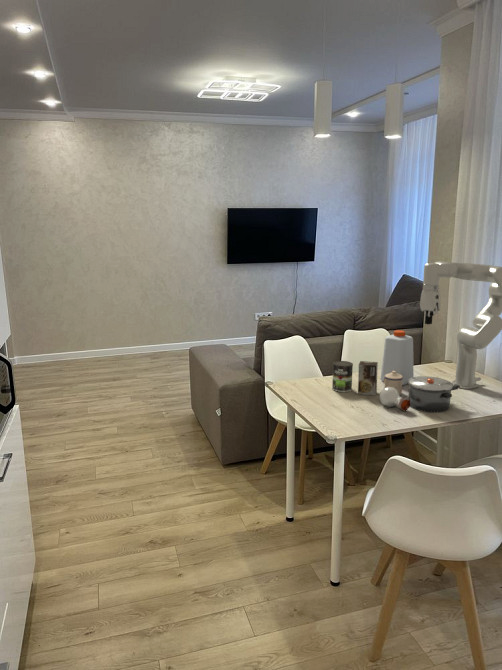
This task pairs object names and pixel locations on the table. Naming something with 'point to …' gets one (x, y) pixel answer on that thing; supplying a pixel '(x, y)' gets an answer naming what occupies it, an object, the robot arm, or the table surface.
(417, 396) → the pot
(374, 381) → the coffee box
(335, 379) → the coffee can
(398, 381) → the teacup with lid
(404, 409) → the potion bottle
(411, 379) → the lid
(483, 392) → the table surface
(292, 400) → the table surface
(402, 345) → the plastic bottle
